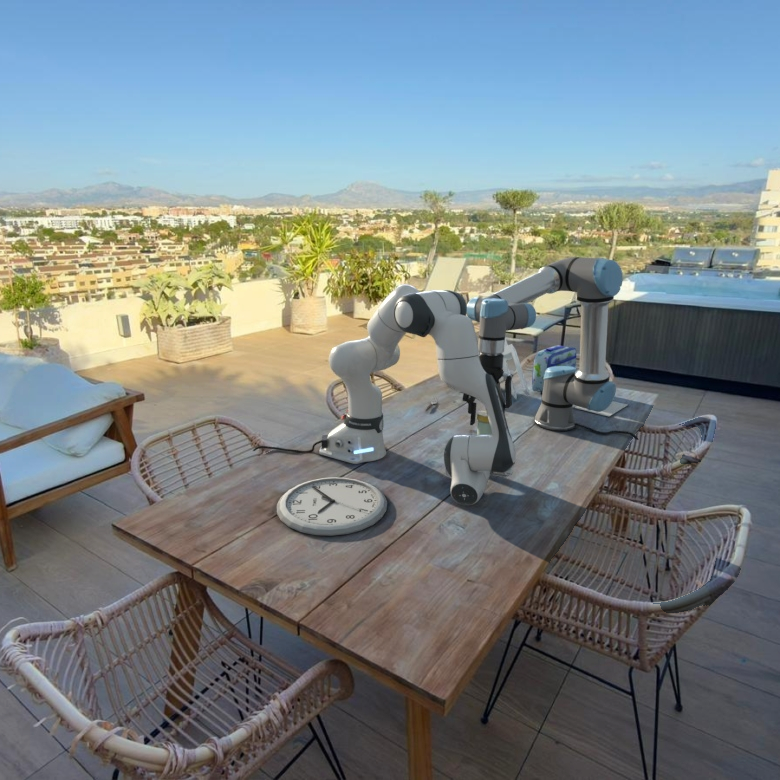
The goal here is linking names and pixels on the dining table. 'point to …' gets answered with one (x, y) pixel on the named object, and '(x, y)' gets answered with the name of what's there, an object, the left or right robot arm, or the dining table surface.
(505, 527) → the dining table surface
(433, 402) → the fork
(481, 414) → the lid
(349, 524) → the wall clock
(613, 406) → the invitation card
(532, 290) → the right robot arm
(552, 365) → the lunch box
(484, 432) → the green cylinder
